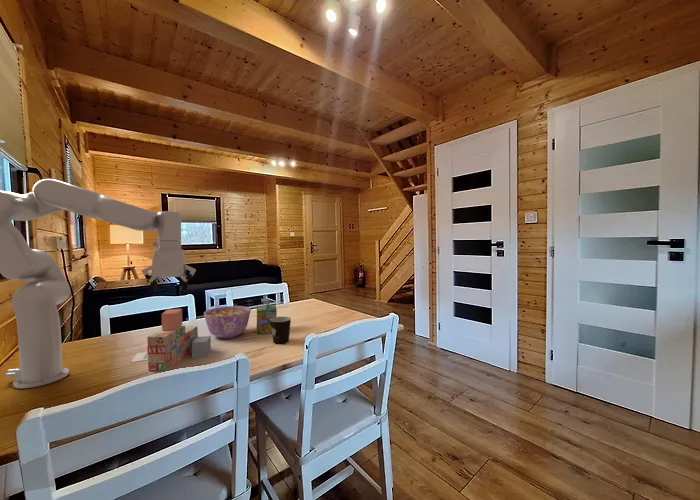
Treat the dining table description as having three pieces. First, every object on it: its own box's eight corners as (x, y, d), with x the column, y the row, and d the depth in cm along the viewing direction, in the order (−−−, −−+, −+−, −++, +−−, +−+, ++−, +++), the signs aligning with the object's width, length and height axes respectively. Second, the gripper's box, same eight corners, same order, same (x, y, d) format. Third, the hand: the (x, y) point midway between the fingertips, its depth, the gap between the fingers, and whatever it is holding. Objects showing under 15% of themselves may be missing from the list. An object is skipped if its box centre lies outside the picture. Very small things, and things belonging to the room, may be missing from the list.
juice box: (256, 329, 148) (256, 299, 147) (275, 327, 151) (275, 298, 150) (256, 335, 139) (256, 303, 139) (277, 333, 142) (276, 302, 141)
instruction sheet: (131, 362, 109) (131, 361, 109) (136, 353, 118) (136, 353, 118) (169, 356, 114) (169, 356, 114) (172, 348, 123) (172, 348, 123)
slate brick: (192, 358, 113) (191, 342, 112) (197, 351, 120) (196, 336, 119) (206, 357, 114) (206, 341, 114) (210, 350, 121) (210, 335, 120)
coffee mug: (293, 344, 127) (292, 320, 127) (272, 346, 124) (271, 322, 124) (288, 335, 138) (287, 314, 138) (268, 338, 135) (268, 316, 134)
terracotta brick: (162, 330, 107) (161, 314, 107) (167, 325, 114) (167, 309, 114) (177, 329, 109) (177, 313, 108) (182, 324, 115) (181, 308, 115)
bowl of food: (231, 345, 126) (230, 318, 126) (193, 340, 133) (193, 314, 132) (260, 331, 145) (259, 307, 145) (226, 327, 152) (225, 304, 151)
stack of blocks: (183, 348, 124) (182, 318, 123) (198, 348, 123) (197, 318, 123) (148, 371, 102) (146, 335, 102) (166, 371, 102) (165, 335, 102)
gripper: (137, 245, 104) (138, 294, 104) (192, 246, 108) (192, 293, 109) (146, 245, 111) (146, 291, 112) (197, 245, 116) (197, 290, 116)
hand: (169, 292), depth 110 cm, fingers open, 9 cm apart
